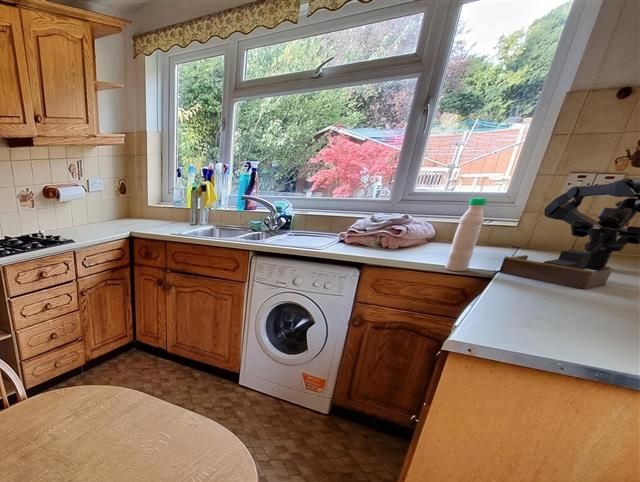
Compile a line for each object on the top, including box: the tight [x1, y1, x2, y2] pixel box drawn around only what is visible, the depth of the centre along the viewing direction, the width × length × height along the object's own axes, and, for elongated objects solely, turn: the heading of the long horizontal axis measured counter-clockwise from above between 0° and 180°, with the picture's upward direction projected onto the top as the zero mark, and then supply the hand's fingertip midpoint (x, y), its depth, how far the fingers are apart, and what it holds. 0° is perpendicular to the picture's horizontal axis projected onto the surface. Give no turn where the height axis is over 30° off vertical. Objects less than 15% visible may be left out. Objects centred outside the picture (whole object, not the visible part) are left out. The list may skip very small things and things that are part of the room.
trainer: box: [543, 249, 592, 270], centre depth 149 cm, size 13×6×8 cm, turn 111°
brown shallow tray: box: [498, 254, 613, 290], centre depth 148 cm, size 12×25×6 cm, turn 21°
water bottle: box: [444, 197, 488, 272], centre depth 157 cm, size 7×7×25 cm
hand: (588, 251), depth 150 cm, fingers closed
